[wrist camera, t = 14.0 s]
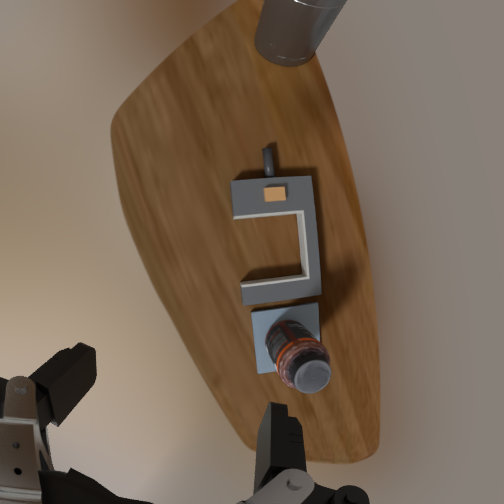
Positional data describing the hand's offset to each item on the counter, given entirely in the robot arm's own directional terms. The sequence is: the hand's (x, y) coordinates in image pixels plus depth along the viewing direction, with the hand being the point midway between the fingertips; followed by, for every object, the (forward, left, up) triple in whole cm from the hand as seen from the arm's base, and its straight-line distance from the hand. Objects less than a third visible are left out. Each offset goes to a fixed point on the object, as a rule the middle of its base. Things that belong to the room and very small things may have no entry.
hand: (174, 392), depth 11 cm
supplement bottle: (+8, +10, -25) cm, 28 cm away
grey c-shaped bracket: (-7, +10, -26) cm, 28 cm away
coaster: (+9, +10, -26) cm, 29 cm away
